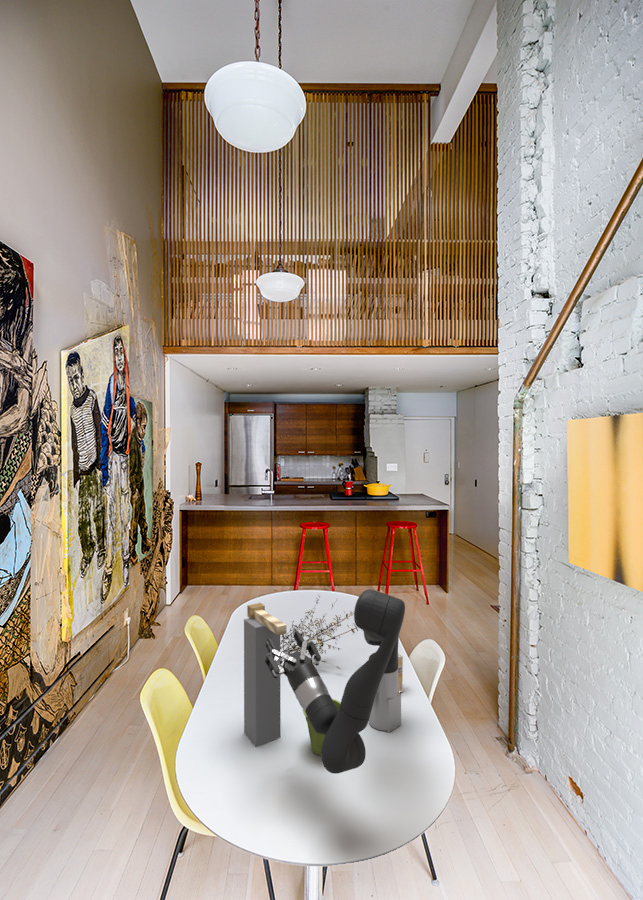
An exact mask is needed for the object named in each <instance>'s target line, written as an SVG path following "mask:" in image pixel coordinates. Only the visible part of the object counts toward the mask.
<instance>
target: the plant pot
mask: <svg viewBox="0 0 643 900" xmlns="http://www.w3.org/2000/svg"><path fill="white" fill-rule="evenodd" d="M332 700H333V702H334V703H335V705H336V707H337V709H338V711H339V708H340V704H341V701H339V700H338V699H334V698H332ZM302 712H303V715H304V716H305V721H306V723H307V728H308V734H309V735H308V736H309V739H310V740H309V741H310V745H311V750H312V752H313V753H314V754H315V755H321V748H322V743H323V740H324V737H325V735H324V734H319V733H317V732H316V731H315V730H314V728H313V727H312V725H311V723H310V721H309V719H308V717H307V715H306V713H305V711H304V710H303V709H302Z"/></svg>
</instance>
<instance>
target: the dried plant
mask: <svg viewBox="0 0 643 900" xmlns="http://www.w3.org/2000/svg"><path fill="white" fill-rule="evenodd" d="M320 597H321V595H318V597H316V599H315V603H316V604H315V605H314V607H313V608H312V609H309V611H306V612H304V614H307V615H305V616H304V620H303V617H302V618H301V620H300V623H299V624H298V625H294V620H292V622H291V627H289V631H288V632H287V633H286V634H283V635H281V639H280V650H282V649H283V650H282V651H280V653H281V652H283V653H285V654H289V653H294V652H296V651H298V652H300V648H301V647H299V646H298V644H297V642H296V640H295V639H294V633H295V632H296V631H298V632H299V631H300V632H299V633H301V635H302V637H303V638H304V637H308V638H307V639H306V640H305V641H306V642H310V641H314V640H315V642H316V643H314V644H315V646H316V648H317V650H318V652H319V654H321V655H323V654H327V653H326V652H327V650H326V649H325V650H324V648H323V647H324V645H325V643H326V642H328V641H330V640H337V638H338V639H341V636H342V635H345V634H346V633H349V632H351V633H352V634H355V633H356V632H355V629H356V630H357V632H359V628H358V627H357V626H356V624H355V622H353V623H352V624H353V625H352V626H353V628H350V626H349V625H348V624H346V627H348V628H350V630H347V631H345V632H343V633H341V634H338V635H336V636H335V631H337V630H338V629H337V628H339V627H342V624H341V623H342V622H343V621H345V620H349V619H350V618H349V617H351V616H352V617H354V611H350V612H349V614H348V613H346V614H345V611H343V612H344V614H345V617H344V618H343V619H341V618H342V615H339V616H337V614H335V615H334V616H335V617H334V618H332V620H333V621H334V620H335V621H336V622H333V621H331V622H330V623H329V624H328V625H327V623H325V622H326V621H327V620H326V619H324V618H325V617H326V616H327V614H322V618H319V619H318V618H317V617H316V619H314V622H313V620H312V619H313V617H314V616H313V615H314V613H315V610H316V609H315V607H316V605H317V604H319V601H320ZM337 601H338V599H336V601H335V602H337ZM331 605H332V606H331V609H330V610H332V609H333V608H334V603H331ZM309 616H310V617H311V619H310V618H309ZM302 620H303V621H302ZM307 620H309V621H310V622H308V624H307V625H308V626H307V625H306V624H305V623H306V622H307ZM323 623H324V625H325V627H326V628H324V627H323V626H324V625H323ZM305 627H306V628H305ZM354 627H355V628H354ZM313 629H315V630H316V632H314V630H313ZM303 630H304V631H303ZM306 630H307V631H306ZM291 631H292V632H291ZM289 633H290V634H289ZM312 633H313V634H312ZM332 634H333V635H332ZM325 637H329V639H326V640H325ZM287 641H288V642H287ZM334 642H335V644H337V642H336V641H334ZM281 645H282V646H281ZM326 645H327V646H328V648H327V649H328V650H331V648H332V649H333V650H335V649H337V650H338V652H340V651H339V650H341V648H339V647H336V646H333V645H331V644H327V643H326ZM307 653H308V654H307ZM305 654H307V655H308V656H309V655H310V654H309V652H308V650H307V649H306V653H305ZM320 662H321V663H324V664H325V663H326V664H327V663H328V664H329V662H327V661H326V660H322V659H321V660H320ZM331 665H333V666H334V664H332V663H331ZM336 668H337V669H339V671H341V670H342V668H340V666H336Z"/></svg>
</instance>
